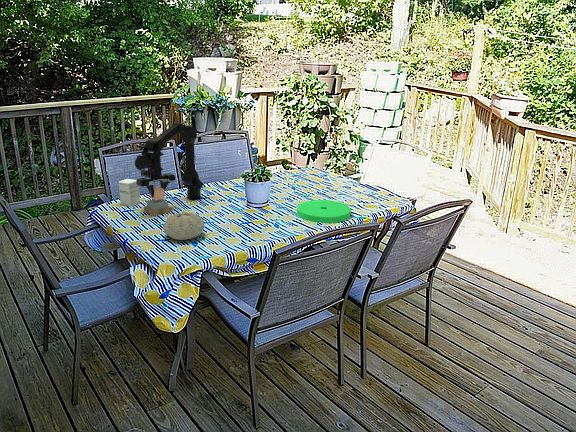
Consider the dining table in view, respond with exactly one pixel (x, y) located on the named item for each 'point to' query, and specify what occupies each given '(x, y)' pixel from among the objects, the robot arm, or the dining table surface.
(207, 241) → the dining table surface
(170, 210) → the walnut slab
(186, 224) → the decorative shell
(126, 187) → the supplement box
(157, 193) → the terracotta cube
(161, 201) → the grey square block
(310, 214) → the disc
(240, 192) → the dining table surface
